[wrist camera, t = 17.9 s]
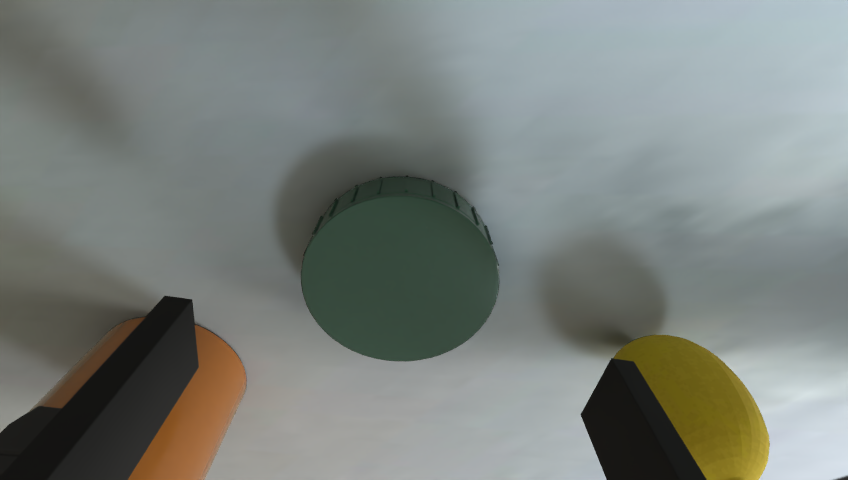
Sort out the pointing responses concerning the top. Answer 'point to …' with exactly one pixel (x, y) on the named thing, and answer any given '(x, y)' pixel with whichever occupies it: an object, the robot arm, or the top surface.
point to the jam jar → (190, 417)
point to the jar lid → (400, 270)
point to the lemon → (704, 405)
